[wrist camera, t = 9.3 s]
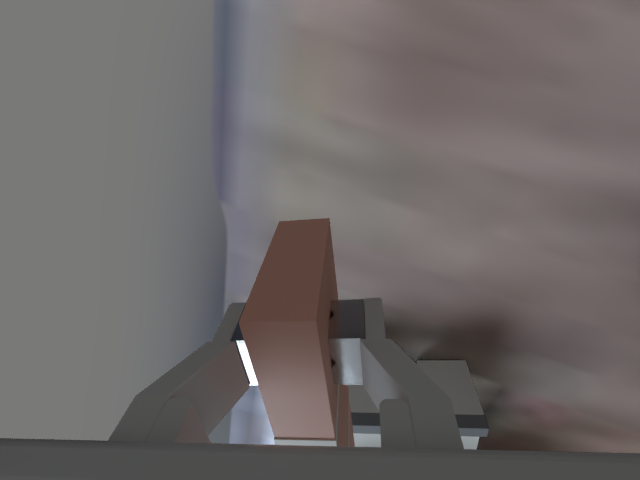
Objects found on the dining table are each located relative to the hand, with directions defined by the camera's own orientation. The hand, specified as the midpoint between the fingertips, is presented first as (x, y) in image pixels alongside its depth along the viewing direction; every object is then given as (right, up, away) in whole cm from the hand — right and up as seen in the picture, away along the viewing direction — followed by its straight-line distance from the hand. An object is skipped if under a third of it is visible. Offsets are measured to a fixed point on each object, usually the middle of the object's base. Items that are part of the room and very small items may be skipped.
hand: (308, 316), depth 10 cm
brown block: (+1, -3, +3) cm, 4 cm away
